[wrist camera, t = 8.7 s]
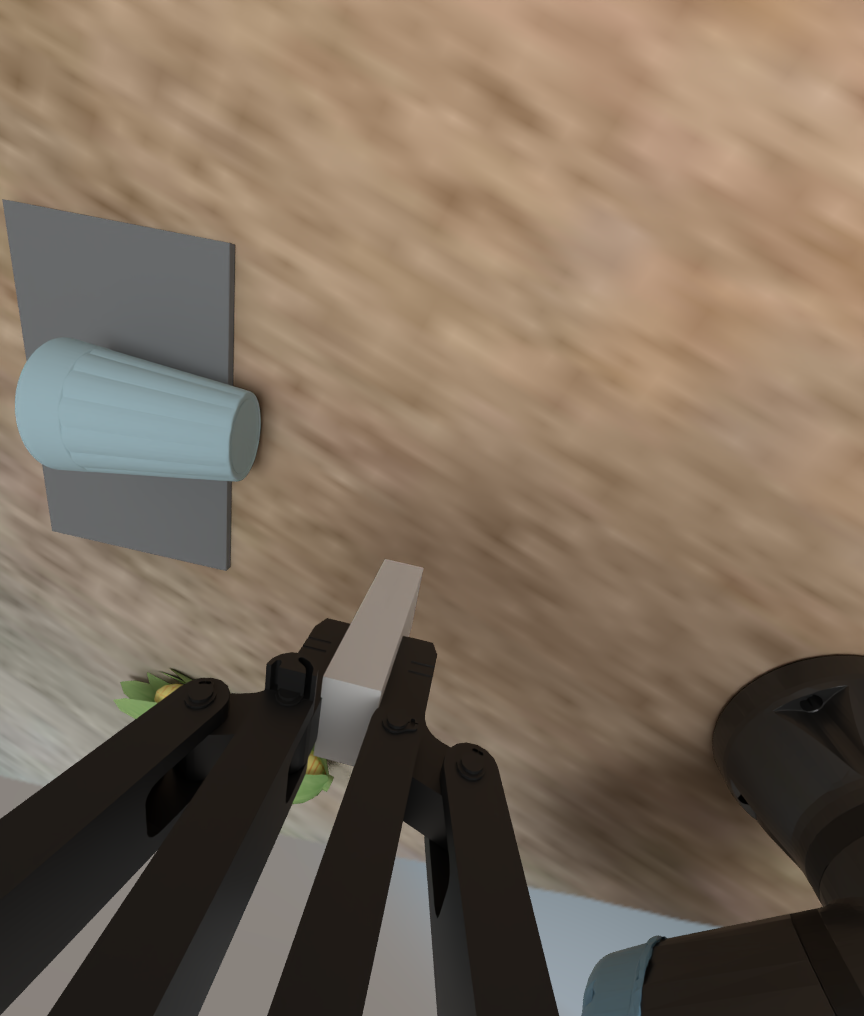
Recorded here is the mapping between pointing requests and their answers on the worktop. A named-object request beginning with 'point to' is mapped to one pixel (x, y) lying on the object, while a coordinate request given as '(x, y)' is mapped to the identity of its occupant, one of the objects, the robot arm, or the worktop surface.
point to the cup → (132, 416)
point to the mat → (139, 333)
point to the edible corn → (152, 693)
